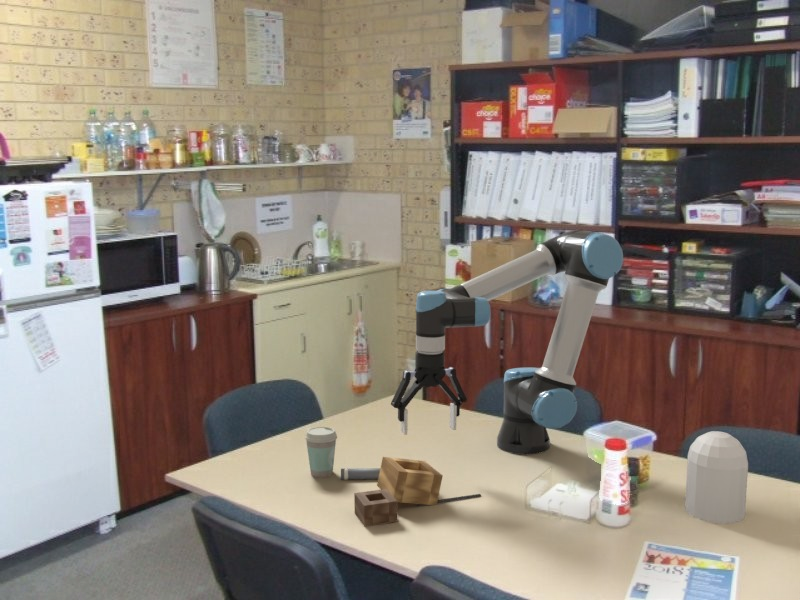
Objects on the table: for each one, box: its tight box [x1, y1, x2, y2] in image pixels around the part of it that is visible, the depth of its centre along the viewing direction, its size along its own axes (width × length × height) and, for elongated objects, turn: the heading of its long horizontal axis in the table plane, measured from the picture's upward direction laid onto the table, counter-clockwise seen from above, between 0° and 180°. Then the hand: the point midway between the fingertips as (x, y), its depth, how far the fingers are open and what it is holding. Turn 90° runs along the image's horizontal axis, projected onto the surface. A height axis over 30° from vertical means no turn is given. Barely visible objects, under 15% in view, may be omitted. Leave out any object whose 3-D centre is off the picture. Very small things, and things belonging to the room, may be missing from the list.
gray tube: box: [340, 467, 381, 481], centre depth 227 cm, size 3×3×18 cm
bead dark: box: [353, 489, 398, 527], centre depth 202 cm, size 8×8×5 cm
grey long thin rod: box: [417, 493, 482, 507], centre depth 212 cm, size 17×1×1 cm, turn 109°
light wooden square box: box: [376, 456, 443, 506], centre depth 213 cm, size 12×12×8 cm
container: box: [684, 430, 749, 525], centre depth 203 cm, size 13×13×20 cm
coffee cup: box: [304, 426, 338, 478], centre depth 230 cm, size 9×8×12 cm
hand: (428, 430), depth 225 cm, fingers open, 13 cm apart
